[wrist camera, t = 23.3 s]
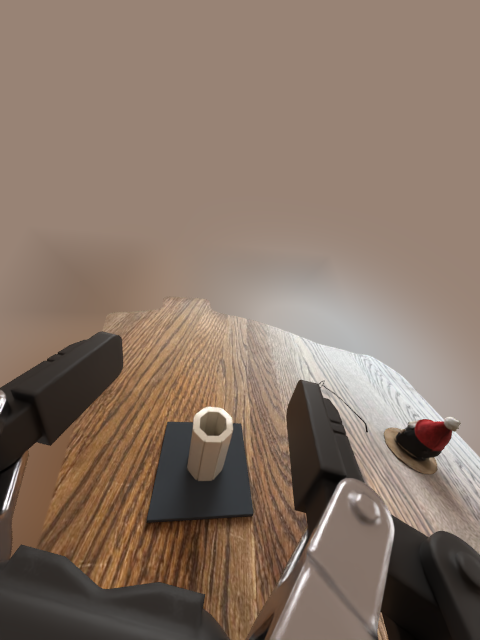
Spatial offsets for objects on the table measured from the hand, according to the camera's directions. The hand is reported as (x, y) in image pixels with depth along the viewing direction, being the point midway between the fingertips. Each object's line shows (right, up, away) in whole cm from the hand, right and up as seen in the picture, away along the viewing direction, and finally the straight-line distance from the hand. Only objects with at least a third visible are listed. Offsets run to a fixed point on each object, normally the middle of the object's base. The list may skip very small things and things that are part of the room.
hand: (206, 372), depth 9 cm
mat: (-4, -18, +20) cm, 27 cm away
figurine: (+32, -21, +29) cm, 48 cm away
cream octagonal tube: (-3, -17, +20) cm, 26 cm away
